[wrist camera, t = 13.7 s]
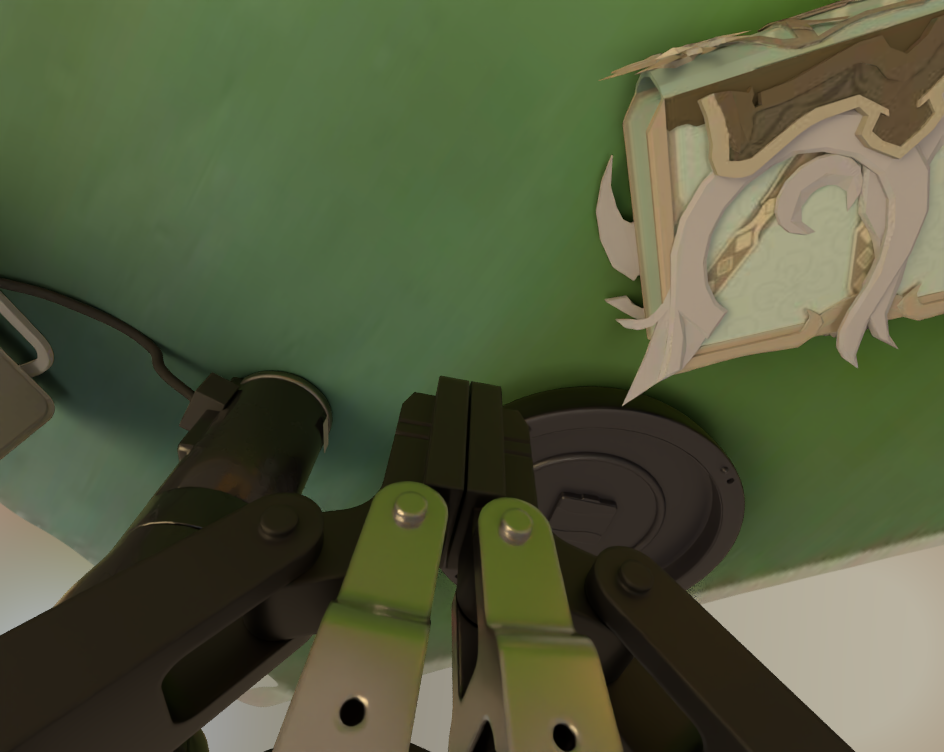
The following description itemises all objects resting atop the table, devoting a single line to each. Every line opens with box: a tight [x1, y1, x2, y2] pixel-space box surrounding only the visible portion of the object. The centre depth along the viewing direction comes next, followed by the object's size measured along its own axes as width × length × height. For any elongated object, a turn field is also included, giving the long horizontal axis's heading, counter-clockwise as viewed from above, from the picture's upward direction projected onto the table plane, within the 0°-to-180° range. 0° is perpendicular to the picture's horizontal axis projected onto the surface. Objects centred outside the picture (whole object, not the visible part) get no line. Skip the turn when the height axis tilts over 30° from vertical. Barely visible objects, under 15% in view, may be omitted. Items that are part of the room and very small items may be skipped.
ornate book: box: [596, 0, 944, 406], centre depth 30 cm, size 23×10×30 cm
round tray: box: [440, 386, 745, 590], centre depth 48 cm, size 30×6×30 cm
